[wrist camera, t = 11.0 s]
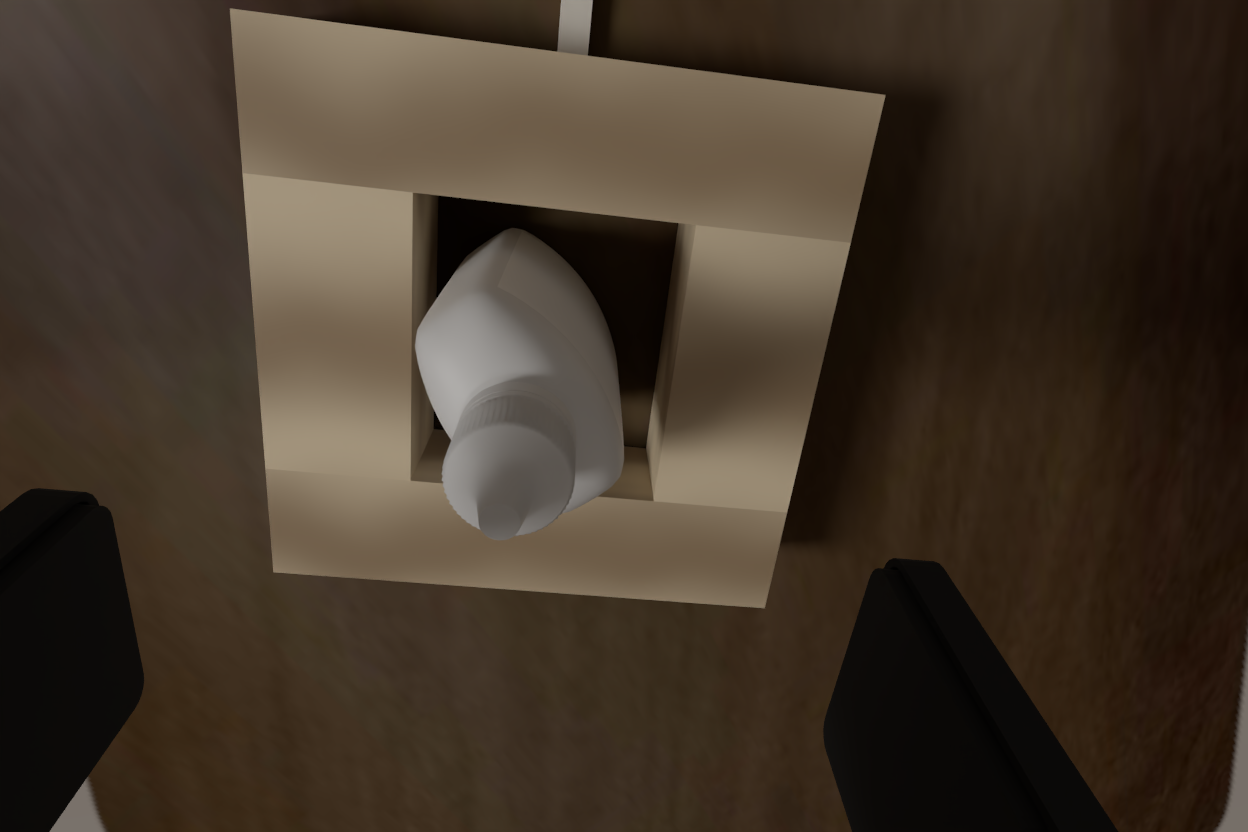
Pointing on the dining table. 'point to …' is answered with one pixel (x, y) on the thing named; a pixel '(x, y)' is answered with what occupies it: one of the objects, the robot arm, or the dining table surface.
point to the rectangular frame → (550, 178)
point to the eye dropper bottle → (521, 387)
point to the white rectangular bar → (575, 26)
